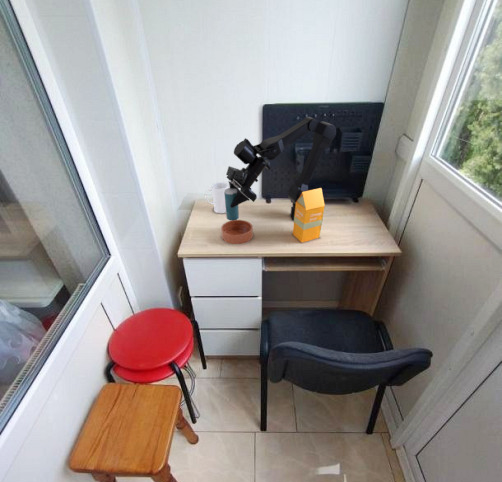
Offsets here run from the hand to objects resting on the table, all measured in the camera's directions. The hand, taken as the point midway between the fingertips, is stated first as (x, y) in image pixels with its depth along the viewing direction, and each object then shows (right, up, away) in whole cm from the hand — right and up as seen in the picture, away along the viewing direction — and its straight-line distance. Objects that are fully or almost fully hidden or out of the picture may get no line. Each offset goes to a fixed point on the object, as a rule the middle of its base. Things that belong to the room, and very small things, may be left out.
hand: (228, 204), depth 115 cm
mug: (-7, +6, +26) cm, 28 cm away
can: (+1, -4, +5) cm, 6 cm away
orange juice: (+33, -11, +7) cm, 35 cm away
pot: (+3, -12, +7) cm, 14 cm away
